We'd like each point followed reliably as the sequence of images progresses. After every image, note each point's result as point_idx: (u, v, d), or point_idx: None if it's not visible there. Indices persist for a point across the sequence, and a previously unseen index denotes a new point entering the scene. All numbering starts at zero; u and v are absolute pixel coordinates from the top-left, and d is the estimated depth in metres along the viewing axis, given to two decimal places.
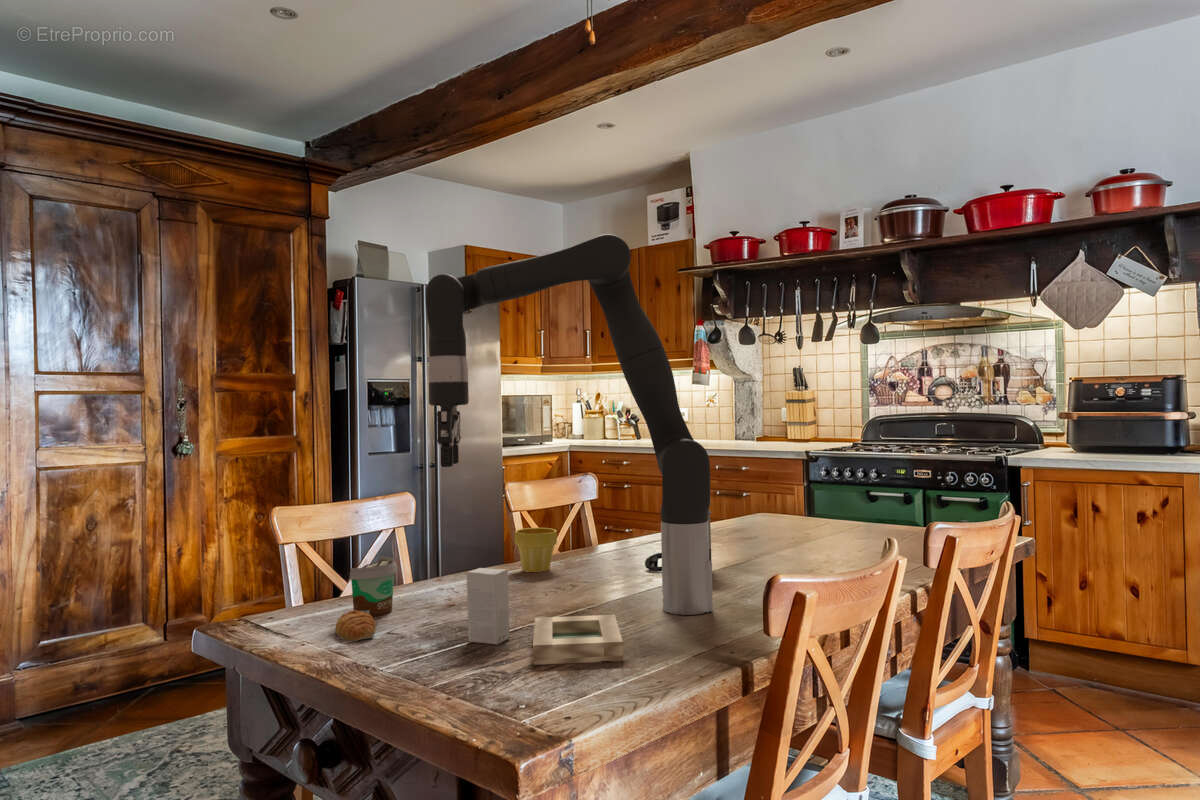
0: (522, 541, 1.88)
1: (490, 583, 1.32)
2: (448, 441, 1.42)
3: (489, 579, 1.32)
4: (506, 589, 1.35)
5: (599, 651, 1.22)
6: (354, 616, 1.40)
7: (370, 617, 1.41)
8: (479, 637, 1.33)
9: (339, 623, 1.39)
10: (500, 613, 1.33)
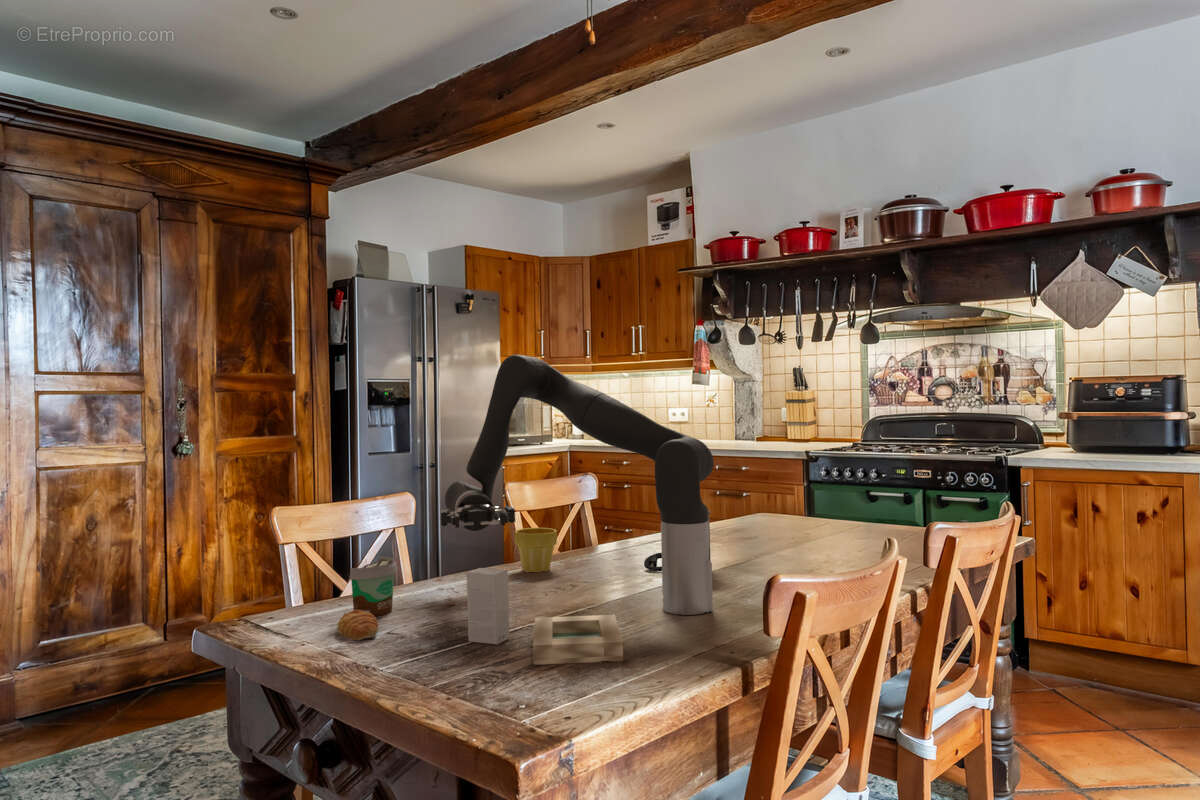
0: (522, 541, 1.88)
1: (490, 583, 1.32)
2: (441, 515, 1.49)
3: (489, 579, 1.32)
4: (506, 589, 1.35)
5: (599, 651, 1.22)
6: (356, 615, 1.40)
7: (372, 616, 1.41)
8: (479, 637, 1.33)
9: (341, 622, 1.40)
10: (500, 613, 1.33)
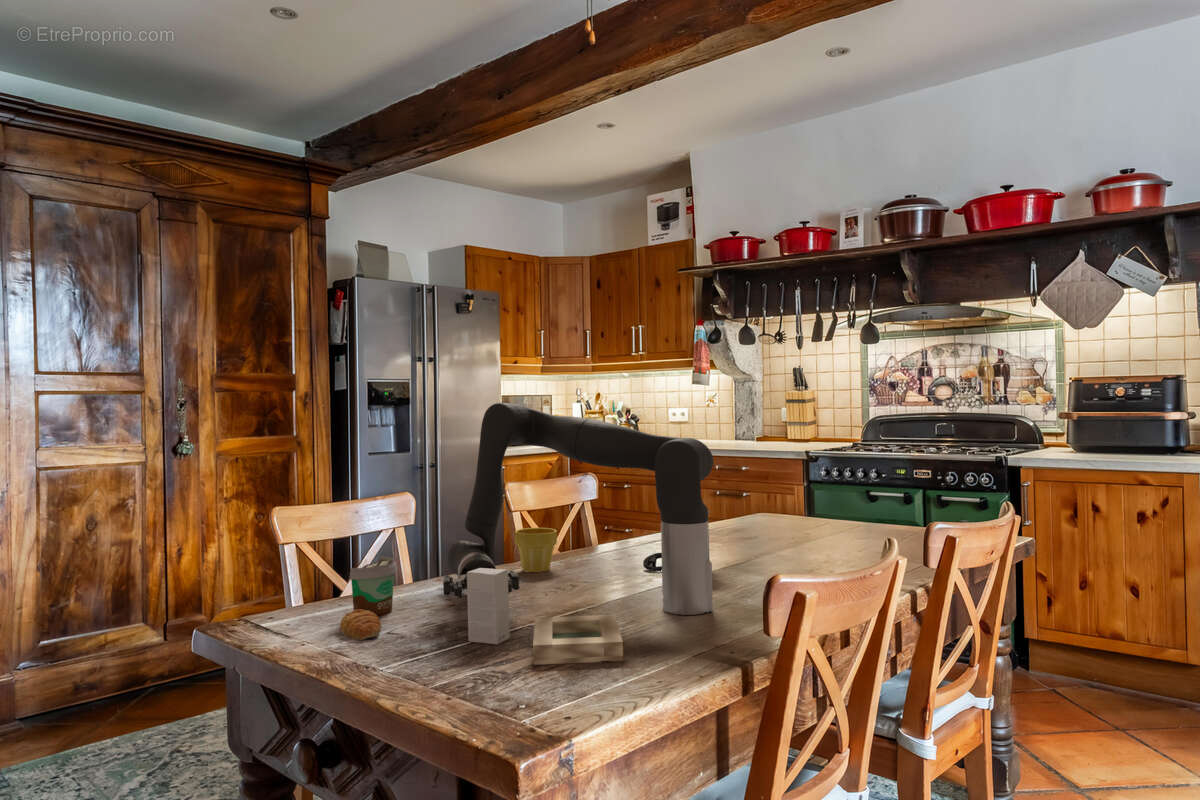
0: (522, 541, 1.88)
1: (490, 583, 1.32)
2: (443, 584, 1.46)
3: (490, 579, 1.32)
4: (506, 589, 1.35)
5: (599, 651, 1.22)
6: (359, 615, 1.40)
7: (375, 616, 1.42)
8: (479, 637, 1.33)
9: (344, 622, 1.40)
10: (500, 613, 1.33)
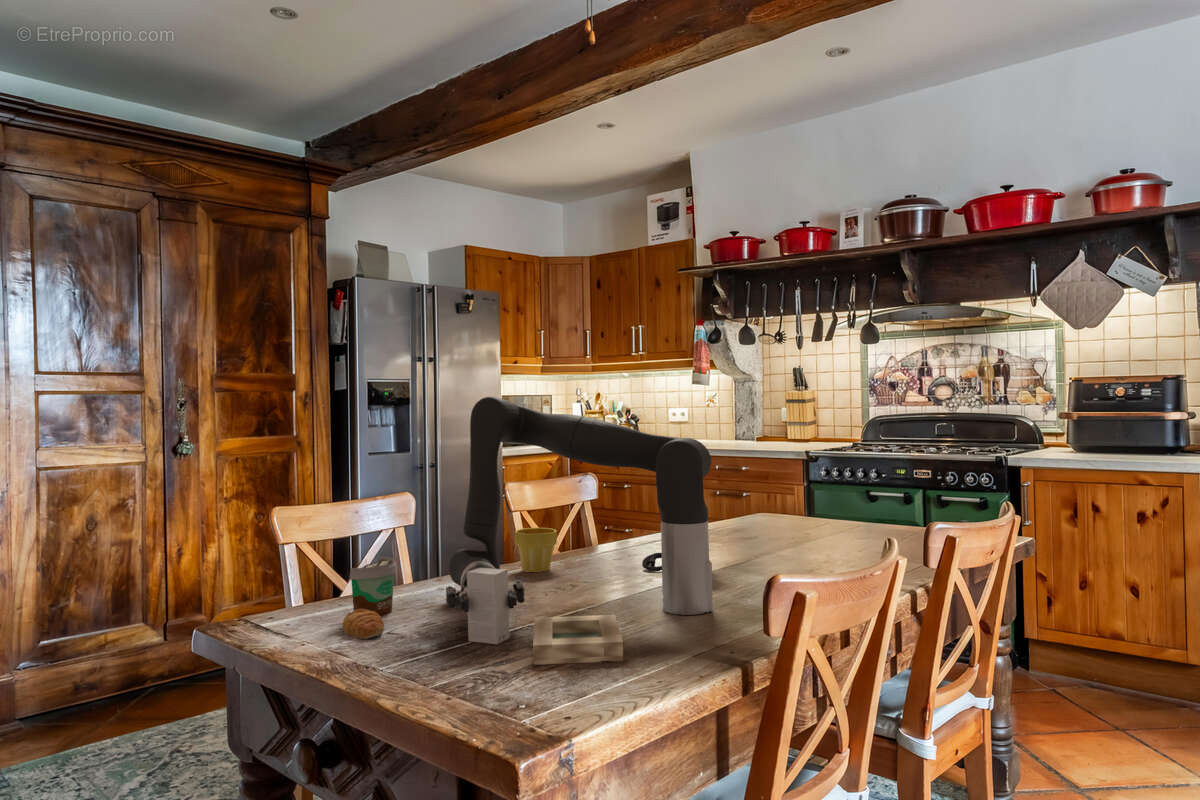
0: (522, 541, 1.88)
1: (490, 583, 1.32)
2: (448, 596, 1.36)
3: (489, 579, 1.32)
4: (506, 589, 1.35)
5: (599, 651, 1.22)
6: (362, 614, 1.41)
7: (377, 615, 1.42)
8: (479, 637, 1.33)
9: (347, 621, 1.40)
10: (500, 612, 1.33)
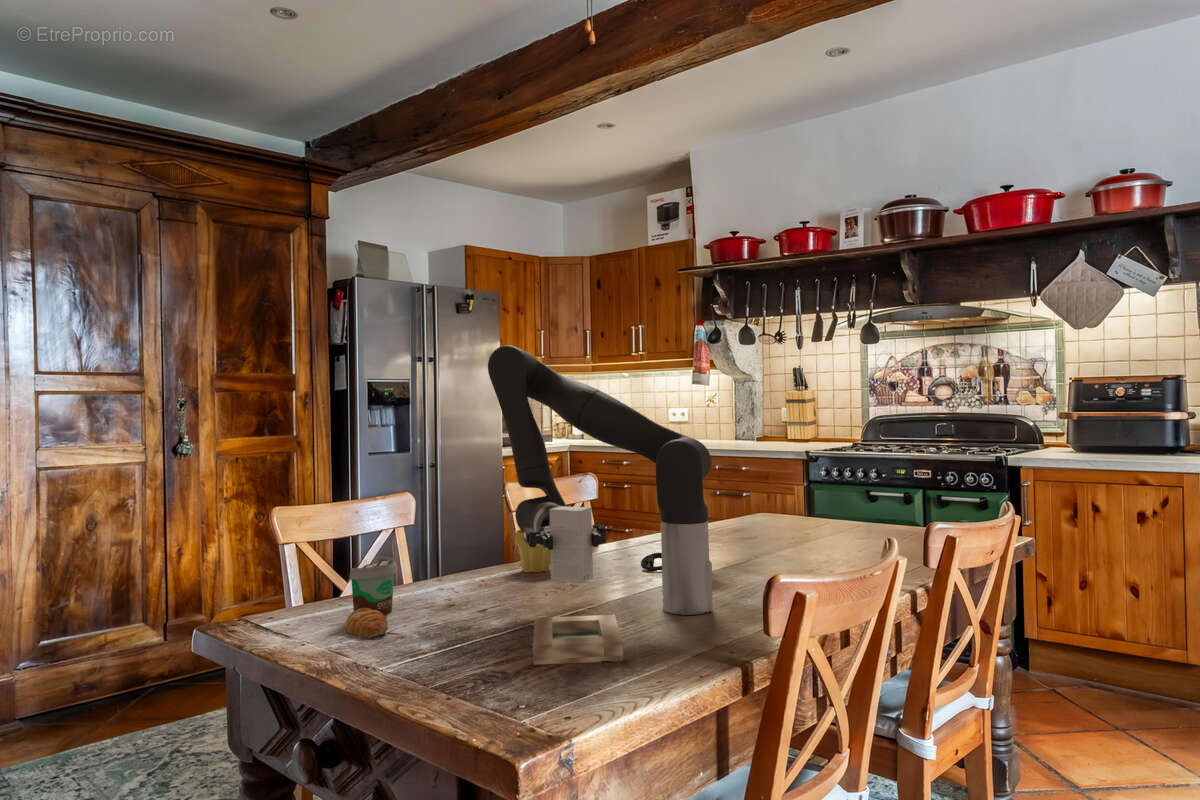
0: (522, 541, 1.88)
1: (575, 520, 1.27)
2: (529, 535, 1.31)
3: (574, 516, 1.27)
4: (590, 527, 1.30)
5: (599, 651, 1.22)
6: (365, 613, 1.41)
7: (381, 614, 1.43)
8: (563, 576, 1.28)
9: (350, 621, 1.41)
10: (585, 551, 1.28)
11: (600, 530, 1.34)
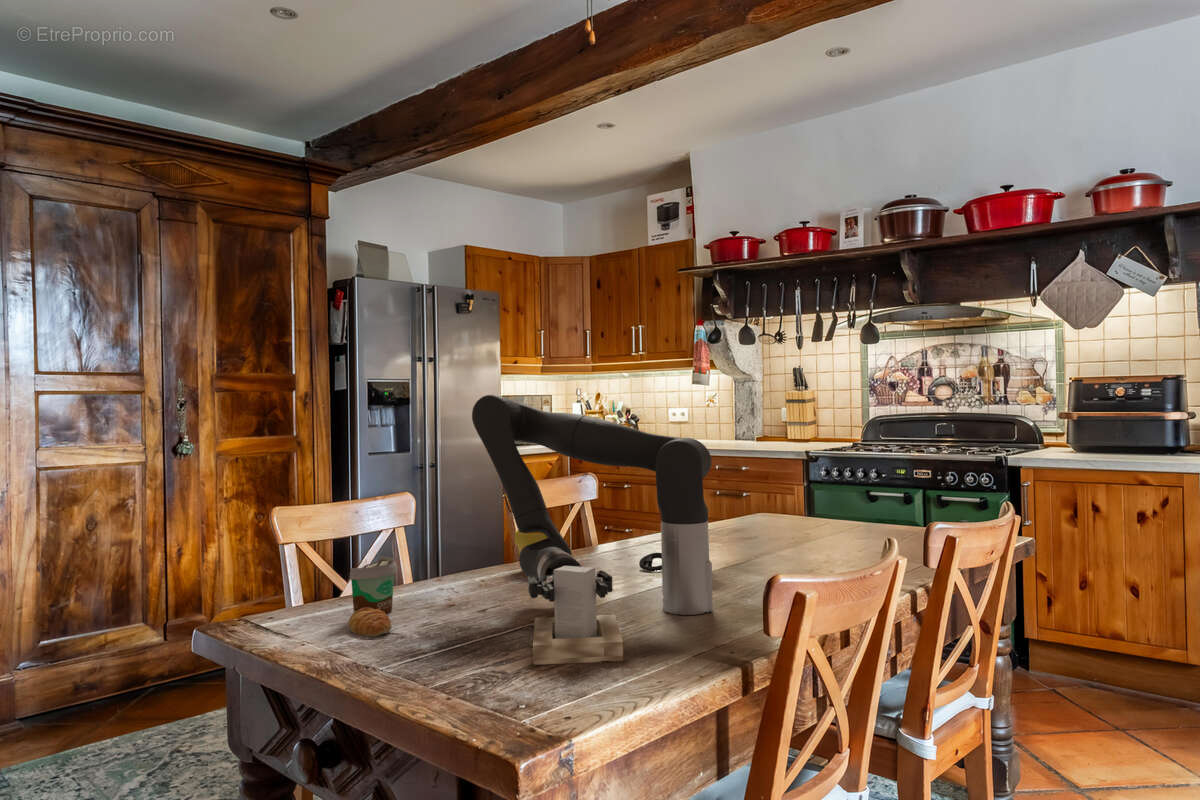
0: (522, 541, 1.88)
1: (579, 582, 1.27)
2: (531, 585, 1.31)
3: (579, 577, 1.27)
4: (594, 587, 1.30)
5: (599, 651, 1.22)
6: (368, 612, 1.42)
7: (384, 613, 1.43)
8: None
9: (353, 620, 1.41)
10: (589, 612, 1.28)
11: (607, 579, 1.34)
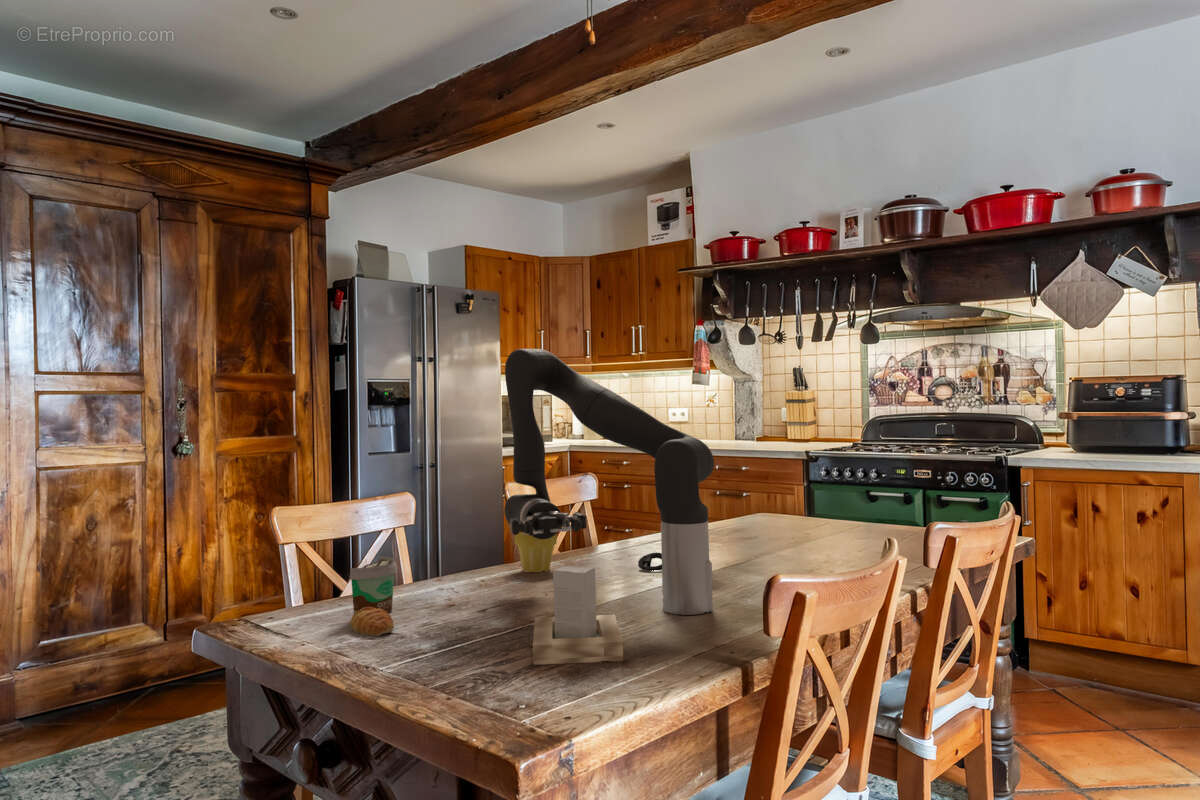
0: (522, 541, 1.88)
1: (579, 582, 1.27)
2: (512, 523, 1.46)
3: (578, 578, 1.27)
4: (593, 587, 1.30)
5: (599, 651, 1.22)
6: (371, 612, 1.42)
7: (386, 612, 1.44)
8: None
9: (356, 619, 1.41)
10: (589, 612, 1.28)
11: (581, 517, 1.49)
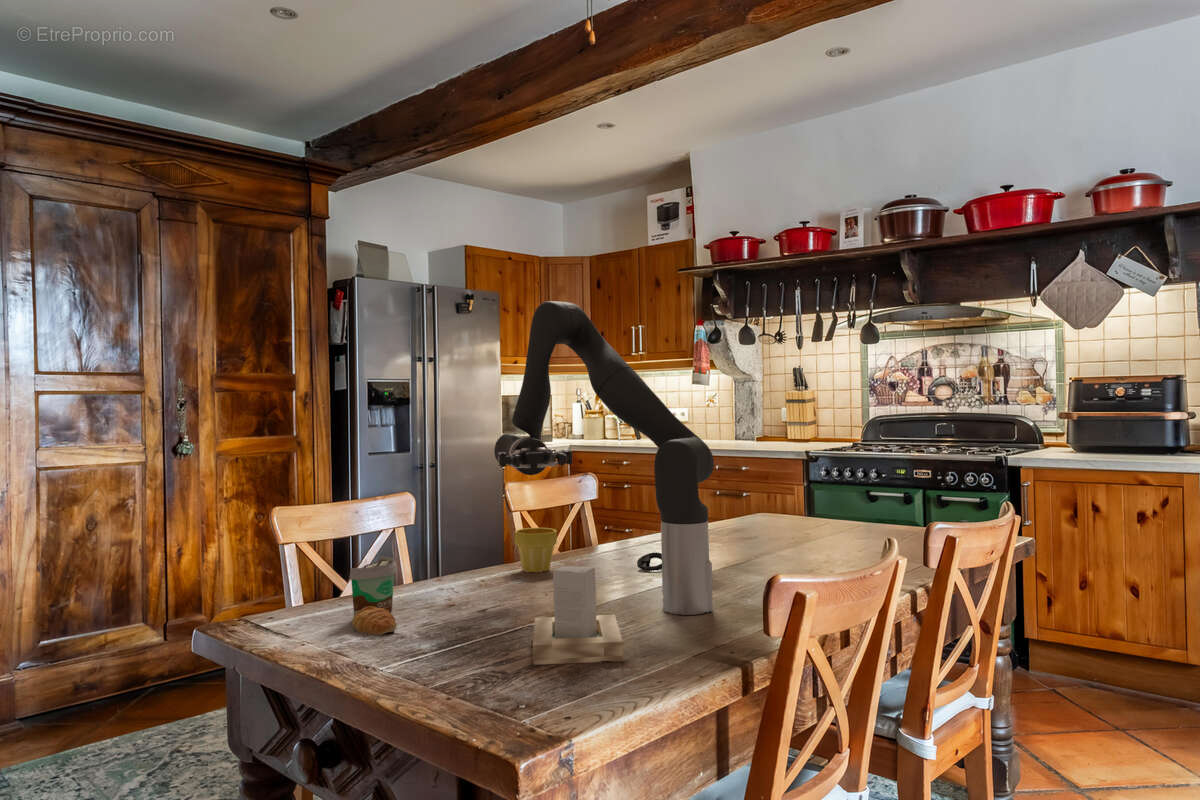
0: (522, 541, 1.88)
1: (579, 582, 1.27)
2: (500, 456, 1.50)
3: (578, 578, 1.27)
4: (593, 587, 1.30)
5: (599, 651, 1.22)
6: (373, 611, 1.43)
7: (388, 612, 1.44)
8: None
9: (358, 619, 1.42)
10: (589, 612, 1.28)
11: (567, 453, 1.52)
